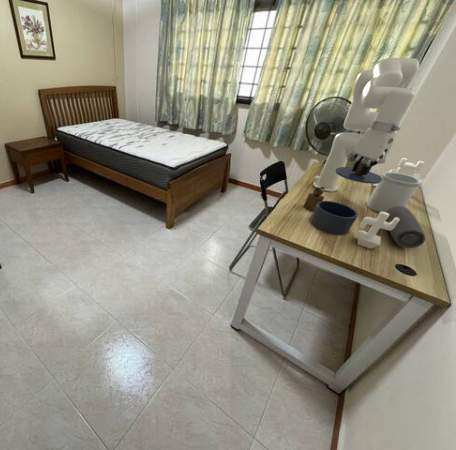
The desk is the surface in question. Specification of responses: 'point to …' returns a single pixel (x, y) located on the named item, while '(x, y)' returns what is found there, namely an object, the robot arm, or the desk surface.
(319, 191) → the toy bear
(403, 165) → the white branched piece
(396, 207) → the bluetooth speaker
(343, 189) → the desk surface
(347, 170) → the pot lid
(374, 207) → the utensil holder
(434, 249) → the desk surface
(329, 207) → the pot
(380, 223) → the figurine
